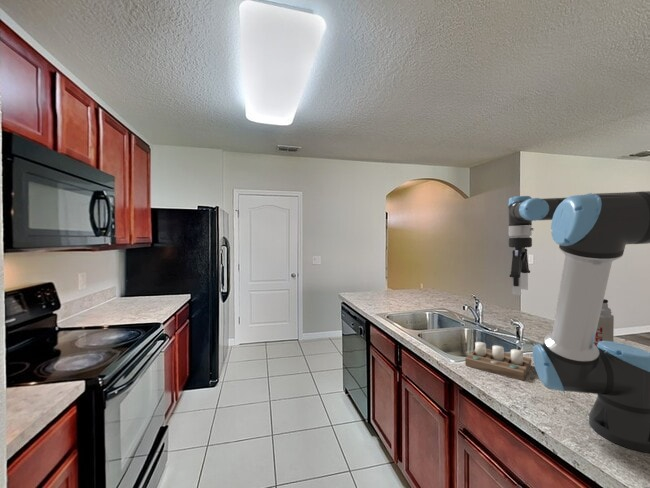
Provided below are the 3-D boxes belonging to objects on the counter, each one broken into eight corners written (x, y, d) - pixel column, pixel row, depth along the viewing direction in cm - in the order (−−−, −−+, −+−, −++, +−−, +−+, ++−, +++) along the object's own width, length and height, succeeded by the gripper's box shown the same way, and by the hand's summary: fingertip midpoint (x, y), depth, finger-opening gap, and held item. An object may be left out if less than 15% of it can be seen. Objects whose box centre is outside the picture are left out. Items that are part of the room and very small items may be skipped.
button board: (523, 380, 111) (523, 371, 110) (465, 365, 124) (465, 357, 124) (531, 365, 122) (531, 357, 122) (477, 353, 136) (477, 346, 136)
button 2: (502, 362, 120) (502, 349, 120) (491, 359, 123) (491, 347, 123) (504, 359, 123) (504, 346, 123) (493, 356, 126) (493, 344, 126)
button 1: (521, 367, 116) (521, 354, 116) (509, 364, 119) (509, 351, 118) (523, 363, 119) (523, 350, 119) (512, 360, 122) (512, 348, 121)
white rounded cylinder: (484, 358, 125) (484, 346, 125) (474, 355, 127) (473, 343, 127) (487, 355, 128) (487, 343, 127) (477, 352, 130) (476, 341, 130)
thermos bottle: (605, 379, 110) (605, 302, 109) (579, 370, 117) (580, 298, 116) (618, 375, 112) (618, 300, 111) (592, 366, 120) (593, 296, 119)
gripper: (525, 237, 106) (525, 298, 106) (537, 236, 124) (537, 288, 125) (500, 238, 111) (501, 296, 111) (515, 236, 129) (515, 286, 130)
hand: (520, 292), depth 118 cm, fingers open, 13 cm apart
